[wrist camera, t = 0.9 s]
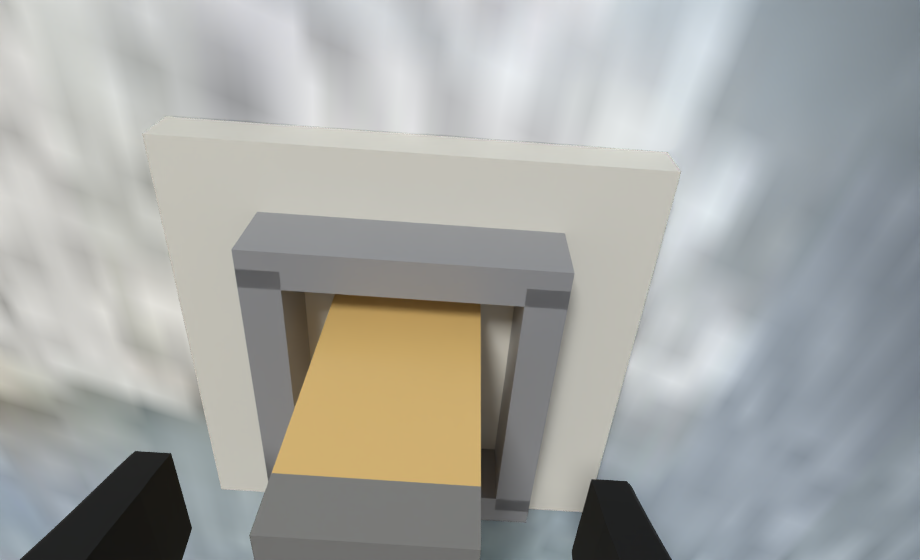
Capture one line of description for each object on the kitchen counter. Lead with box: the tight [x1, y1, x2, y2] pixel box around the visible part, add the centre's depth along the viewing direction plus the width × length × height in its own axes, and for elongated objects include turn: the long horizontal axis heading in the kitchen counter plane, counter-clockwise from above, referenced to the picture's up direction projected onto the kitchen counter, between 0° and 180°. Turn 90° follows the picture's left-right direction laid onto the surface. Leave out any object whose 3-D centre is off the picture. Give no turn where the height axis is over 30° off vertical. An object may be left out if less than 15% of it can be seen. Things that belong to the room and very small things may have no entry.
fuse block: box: [142, 117, 681, 523], centre depth 14 cm, size 10×10×2 cm
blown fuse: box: [249, 294, 481, 560], centre depth 12 cm, size 3×4×6 cm
